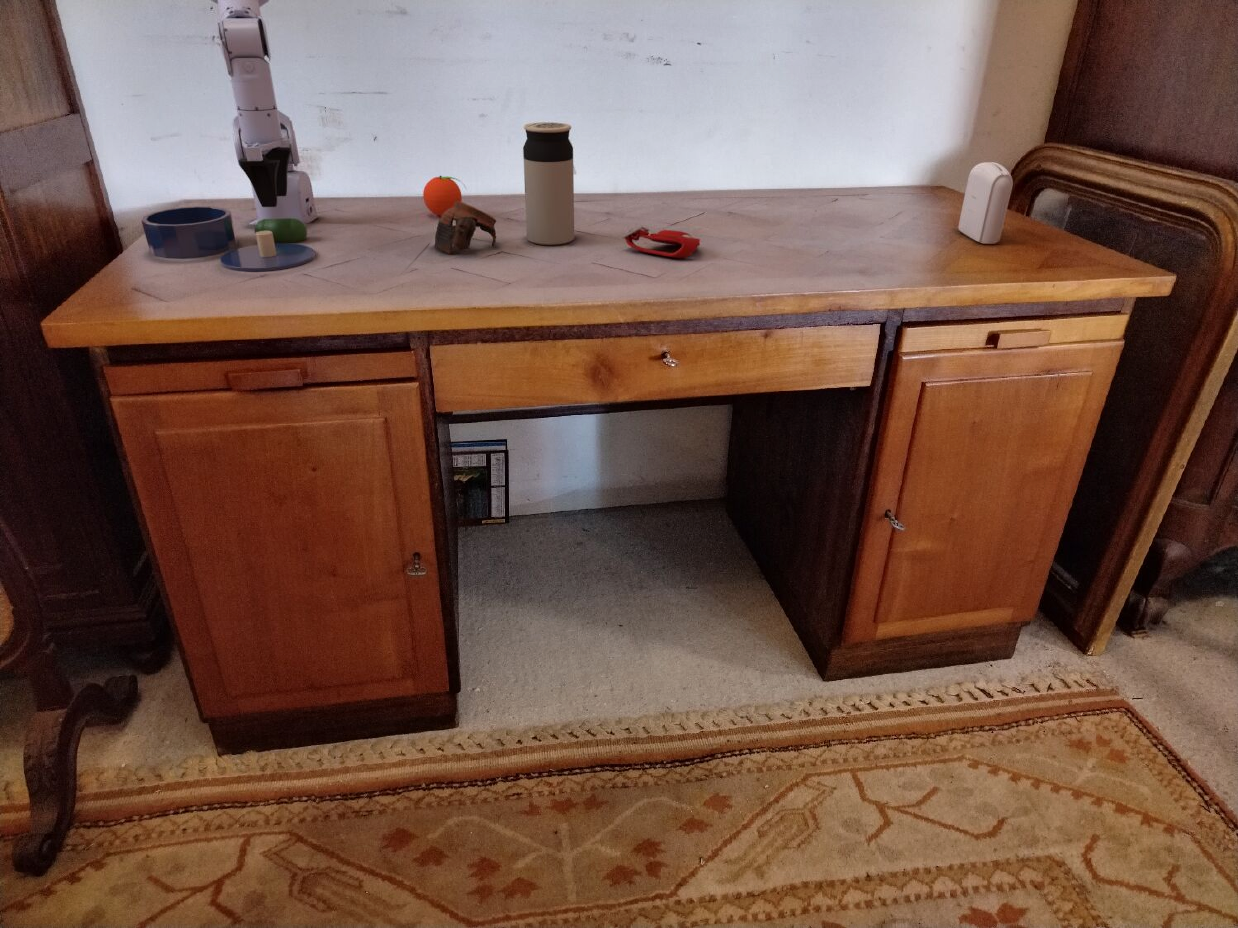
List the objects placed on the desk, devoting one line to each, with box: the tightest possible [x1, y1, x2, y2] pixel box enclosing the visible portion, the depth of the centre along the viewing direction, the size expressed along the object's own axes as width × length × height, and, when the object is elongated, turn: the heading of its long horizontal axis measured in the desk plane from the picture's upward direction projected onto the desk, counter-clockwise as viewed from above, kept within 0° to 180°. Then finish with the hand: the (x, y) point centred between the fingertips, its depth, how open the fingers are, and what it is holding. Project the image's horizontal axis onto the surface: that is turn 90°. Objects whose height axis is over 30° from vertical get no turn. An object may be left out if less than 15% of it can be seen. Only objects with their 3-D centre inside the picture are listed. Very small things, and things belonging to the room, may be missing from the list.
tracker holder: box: [621, 225, 701, 259], centre depth 132 cm, size 12×4×10 cm
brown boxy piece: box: [433, 201, 497, 255], centre depth 132 cm, size 12×10×8 cm
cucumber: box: [254, 218, 308, 244], centre depth 134 cm, size 8×4×4 cm, turn 98°
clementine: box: [422, 175, 467, 217], centre depth 151 cm, size 8×7×7 cm
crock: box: [141, 205, 238, 260], centre depth 129 cm, size 12×12×6 cm
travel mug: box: [522, 121, 575, 246], centre depth 135 cm, size 8×8×18 cm
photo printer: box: [957, 161, 1014, 245], centre depth 142 cm, size 10×4×12 cm, turn 2°
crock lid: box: [219, 231, 316, 272], centre depth 125 cm, size 13×13×4 cm
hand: (274, 201), depth 131 cm, fingers open, 7 cm apart
